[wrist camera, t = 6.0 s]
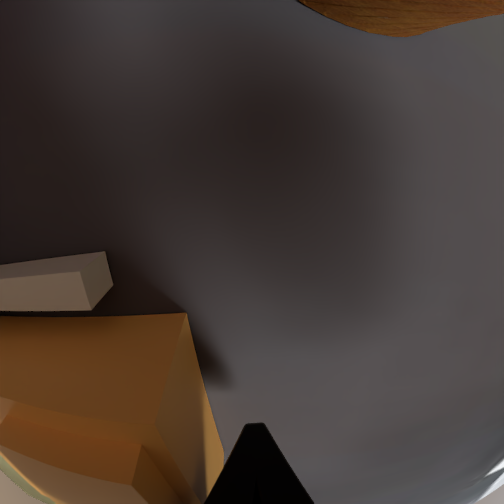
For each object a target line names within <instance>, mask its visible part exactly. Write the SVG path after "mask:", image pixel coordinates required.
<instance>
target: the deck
mask: <svg viewBox="0 0 504 504" xmlns="http://www.w3.org/2000/svg"><path fill="white" fill-rule="evenodd" d="M112 286H113V282H112V278H111V274H110V270H109V266H108V262H107V258H106V253H105V251H103V252H95V253H87V254H79V255H71V256H64V257H56V258H48V259H41V260H33V261H26V262H19V263H12V264H5V265H0V311H81V310H92V309H93V308H94V307H95V305H96V304H97V303H98V302H99V301H100V300H101V299H102V297H103V296H104V295H105V294H106V293H107V292H108V291H109V289H110V288H111V287H112ZM0 469H1V470H2V471H3V472H4V473H5V474H6V475H7V476H8V477H9V478H10V479H11V480H12V481H13V482H14V483H15V484H17V486H19V487H20V488H21V489H22V490H23V491H24V492H26V493H27V494H28V495H29V496H31V497H33V498H36V499H38V500H40V501H42V502H45V503H47V504H56V503H55V502H54V501H52V500H51V499H50V498H49V497H46V496H44V495H42V494H40V493H39V492H38V491H37V490H36V489H35V488H34V487H32V486H31V485H30V484H29V483H28V482H27V481H26V480H25V479H24V478H23V477H22V476H20V475H19V474H18V473H17V472H16V471H15V470H14V469H13V468H12V467H11V466H10V465H9V464H8V463H7V461H6V460H5V459H4V458H3V457H2V456H1V455H0Z"/></svg>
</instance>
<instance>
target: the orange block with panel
mask: <svg viewBox="0 0 504 504" xmlns="http://www.w3.org/2000/svg"><path fill="white" fill-rule="evenodd" d="M0 455H1V456H2V457H3V458H4V459H5V460H6V461H7V463H8V464H9V465H10V466H11V467H12V468H13V469H14V470H15V471H16V472H17V473H18V474H19V475H20V476H22V477H23V478H24V479H25V480H26V481H27V482H28V483H29V484H30V485H31V486H32V487H34V488H35V489H36V490H37V491H38V492H39V493H40V494H42V495H44V496H46V497H49V498H50V499H51V500H52V501H54V502H55V503H56V504H204V502H205V500H206V498H207V497H208V495H209V493H210V491H211V489H212V488H213V486H214V484H215V482H216V480H217V478H218V477H219V475H220V473H221V471H222V469H223V464H224V450H223V447H222V444H221V441H220V438H219V435H218V431H217V428H216V425H215V422H214V418H213V415H212V411H211V408H210V405H209V401H208V397H207V394H206V390H205V387H204V383H203V379H202V375H201V371H200V368H199V364H198V360H197V356H196V352H195V347H194V343H193V339H192V335H191V330H190V326H189V322H188V317H187V313H171V314H154V315H133V316H103V317H16V316H0Z"/></svg>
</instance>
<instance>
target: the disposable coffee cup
mask: <svg viewBox="0 0 504 504" xmlns="http://www.w3.org/2000/svg"><path fill="white" fill-rule="evenodd" d="M299 1H300V2H302V3H303V4H305V5H306V6H308V7H310V8H312V9H314V10H315V11H317V12H319V13H321V14H323V15H325V16H326V17H328V18H331V19H333V20H336V21H338V22H340V23H343V24H345V25H347V26H350V27H353V28H356V29H360V30H363V31H366V32H369V33H375V34H381V35H387V36H392V37H408V36H414V35H420V34H422V33H425V32H427V31H431V30H434V29H437V28H441V27H444V26H448V25H451V24H455V23H460V22H464V21H468V20H472V19H477V18H483V17H486V16H492V15H500V14H504V0H299Z"/></svg>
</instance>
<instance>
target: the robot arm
mask: <svg viewBox="0 0 504 504" xmlns="http://www.w3.org/2000/svg"><path fill="white" fill-rule="evenodd" d="M204 504H314V502H313V500H312V499H311V497H310V496H309V494H308V493H307V491H306V490H305V488H304V487H303V485H302V484H301V482H300V481H299V479H298V478H297V476H296V475H295V473H294V471H293V470H292V468H291V467H290V465H289V463H288V462H287V460H286V459H285V457H284V455H283V454H282V452H281V450H280V449H279V447H278V445H277V444H276V442H275V440H274V439H273V437H272V435H271V434H270V432H269V430H268V429H267V427H266V425H265V424H264V423H248V424H245V426H244V427H243V429H242V432H241V434H240V436H239V438H238V440H237V442H236V444H235V446H234V448H233V450H232V452H231V454H230V455H229V457H228V459H227V461H226V463H225V465H224V467H223V469H222V471H221V473H220V475H219V477H218V478H217V480H216V482H215V484H214V486H213V488H212V489H211V491H210V493H209V495H208V497H207V498H206V500H205V502H204Z"/></svg>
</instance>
